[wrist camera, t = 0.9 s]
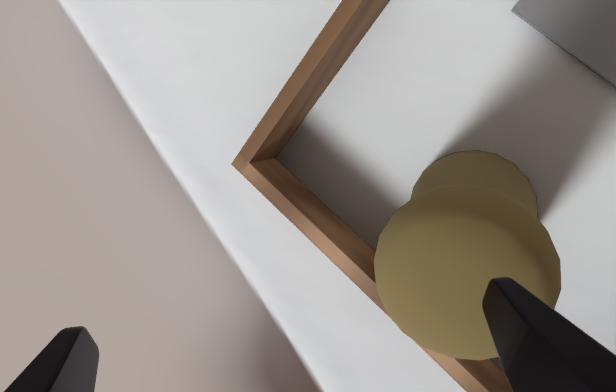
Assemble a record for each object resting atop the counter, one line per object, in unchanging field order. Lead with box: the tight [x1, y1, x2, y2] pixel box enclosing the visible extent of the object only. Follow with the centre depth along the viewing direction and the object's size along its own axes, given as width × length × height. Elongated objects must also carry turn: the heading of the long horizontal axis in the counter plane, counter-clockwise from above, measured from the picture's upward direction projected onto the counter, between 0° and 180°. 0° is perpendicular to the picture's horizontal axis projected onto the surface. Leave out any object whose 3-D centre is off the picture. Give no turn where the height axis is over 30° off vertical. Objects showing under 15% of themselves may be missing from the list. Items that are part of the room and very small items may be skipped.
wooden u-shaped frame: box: [232, 0, 513, 392], centre depth 19 cm, size 22×12×3 cm, turn 52°
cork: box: [374, 150, 561, 360], centre depth 16 cm, size 6×6×11 cm
